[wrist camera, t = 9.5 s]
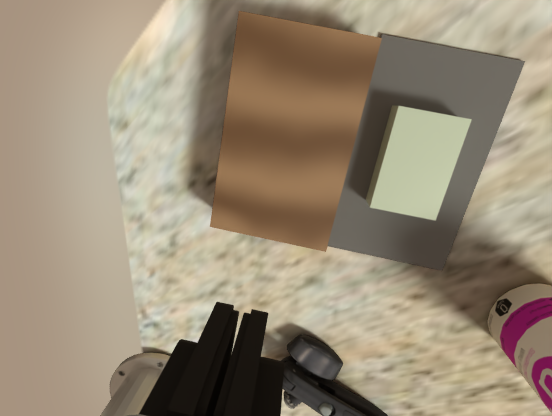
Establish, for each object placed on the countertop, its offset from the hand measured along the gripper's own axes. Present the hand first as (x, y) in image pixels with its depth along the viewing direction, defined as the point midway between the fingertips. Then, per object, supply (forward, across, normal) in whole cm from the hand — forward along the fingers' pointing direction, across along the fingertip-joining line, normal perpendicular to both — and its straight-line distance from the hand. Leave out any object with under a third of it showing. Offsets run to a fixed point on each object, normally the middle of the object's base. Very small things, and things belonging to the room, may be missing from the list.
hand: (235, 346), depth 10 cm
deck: (+24, 0, -5) cm, 24 cm away
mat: (+23, -12, -5) cm, 27 cm away
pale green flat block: (+22, -11, -5) cm, 25 cm away
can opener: (+25, -11, +23) cm, 36 cm away
